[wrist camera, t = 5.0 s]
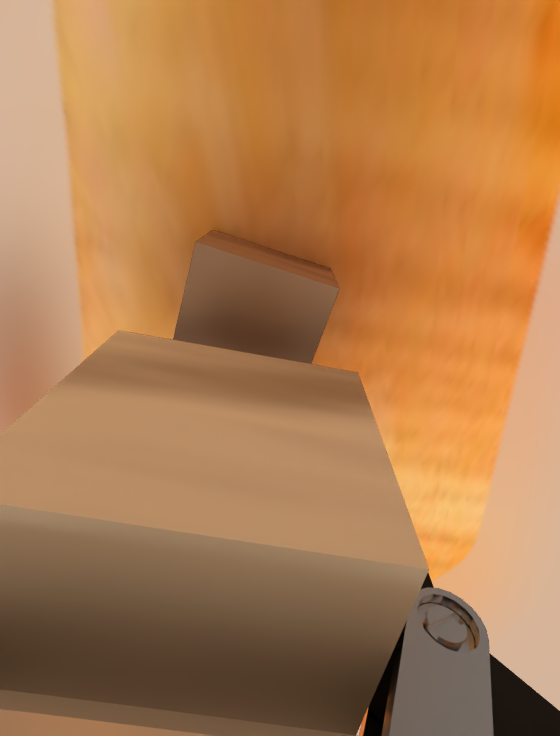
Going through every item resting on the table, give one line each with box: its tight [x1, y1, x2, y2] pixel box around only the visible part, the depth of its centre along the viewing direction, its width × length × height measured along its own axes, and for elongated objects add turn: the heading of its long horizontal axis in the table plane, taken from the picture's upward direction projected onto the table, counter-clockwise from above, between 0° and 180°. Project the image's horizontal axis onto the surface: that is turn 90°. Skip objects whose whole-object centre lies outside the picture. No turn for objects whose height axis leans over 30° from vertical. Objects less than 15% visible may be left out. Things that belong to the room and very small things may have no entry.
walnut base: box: [173, 230, 340, 364], centre depth 24 cm, size 7×7×5 cm
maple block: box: [0, 330, 429, 735], centre depth 9 cm, size 6×6×6 cm
